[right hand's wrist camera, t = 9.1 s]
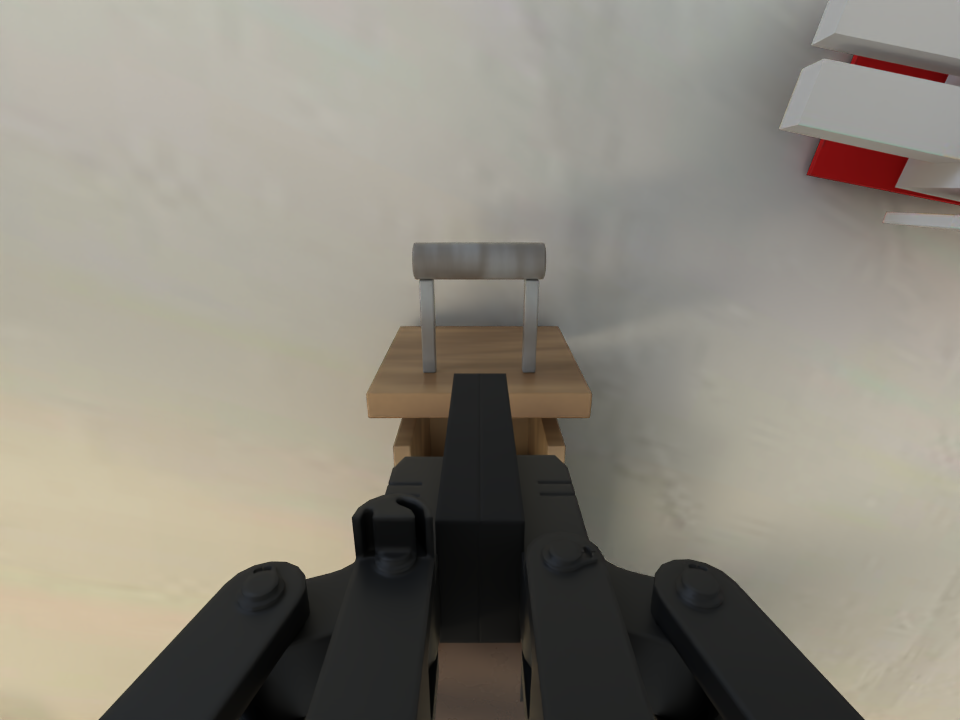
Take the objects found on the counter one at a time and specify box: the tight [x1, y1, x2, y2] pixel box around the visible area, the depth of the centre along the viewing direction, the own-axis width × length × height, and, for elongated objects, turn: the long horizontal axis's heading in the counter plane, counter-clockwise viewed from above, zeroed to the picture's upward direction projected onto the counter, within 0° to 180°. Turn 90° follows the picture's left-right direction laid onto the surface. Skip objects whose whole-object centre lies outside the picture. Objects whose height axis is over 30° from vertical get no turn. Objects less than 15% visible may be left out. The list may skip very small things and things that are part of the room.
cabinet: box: [435, 642, 525, 720], centre depth 32 cm, size 16×11×12 cm
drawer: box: [366, 243, 592, 467], centre depth 28 cm, size 21×10×10 cm, turn 0°
